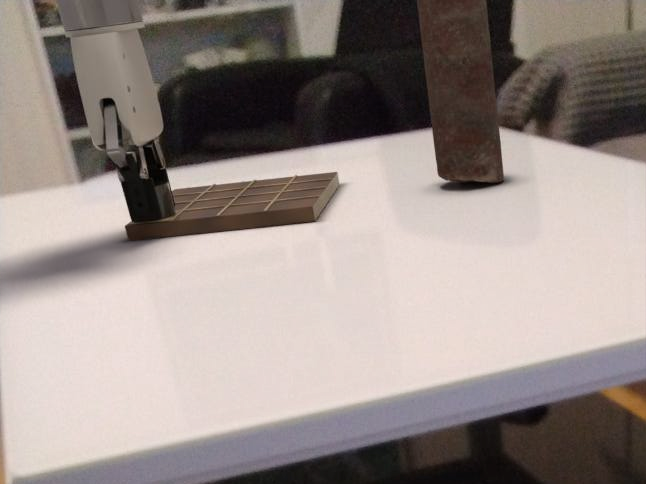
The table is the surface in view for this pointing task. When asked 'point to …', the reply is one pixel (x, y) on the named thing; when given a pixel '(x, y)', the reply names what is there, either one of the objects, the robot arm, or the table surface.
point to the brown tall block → (461, 90)
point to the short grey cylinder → (164, 199)
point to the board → (242, 206)
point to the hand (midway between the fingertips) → (153, 213)
